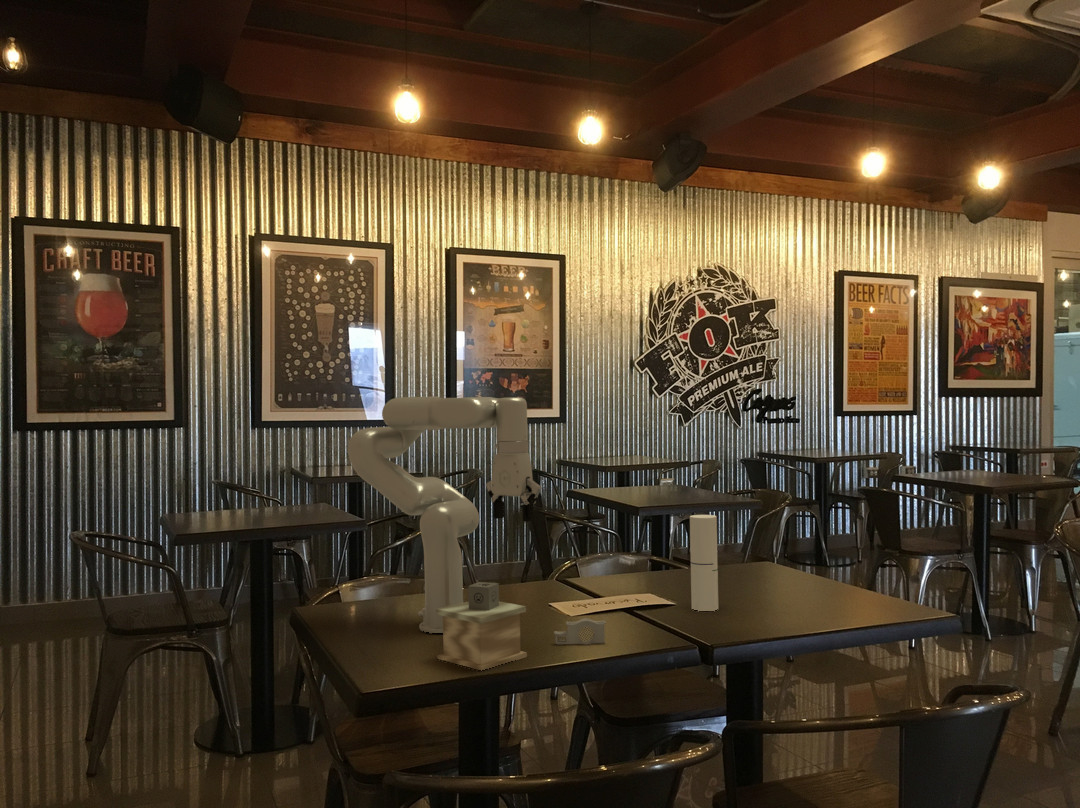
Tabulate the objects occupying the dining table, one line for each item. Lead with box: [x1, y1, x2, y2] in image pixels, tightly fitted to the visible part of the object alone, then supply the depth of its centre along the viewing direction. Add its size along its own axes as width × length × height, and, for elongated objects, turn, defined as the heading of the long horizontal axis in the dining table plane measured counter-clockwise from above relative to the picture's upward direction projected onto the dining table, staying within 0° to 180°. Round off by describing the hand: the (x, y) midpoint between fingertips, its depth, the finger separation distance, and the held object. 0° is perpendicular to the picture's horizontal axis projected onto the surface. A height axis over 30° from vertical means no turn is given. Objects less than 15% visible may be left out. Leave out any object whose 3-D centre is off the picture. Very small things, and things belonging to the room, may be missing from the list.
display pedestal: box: [436, 600, 528, 672], centre depth 198 cm, size 14×14×11 cm
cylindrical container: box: [689, 514, 719, 612], centre depth 242 cm, size 7×7×25 cm
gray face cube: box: [467, 581, 500, 610], centre depth 198 cm, size 5×5×5 cm
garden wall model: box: [553, 617, 607, 645], centre depth 209 cm, size 12×2×6 cm, turn 92°
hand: (513, 519), depth 216 cm, fingers open, 9 cm apart
